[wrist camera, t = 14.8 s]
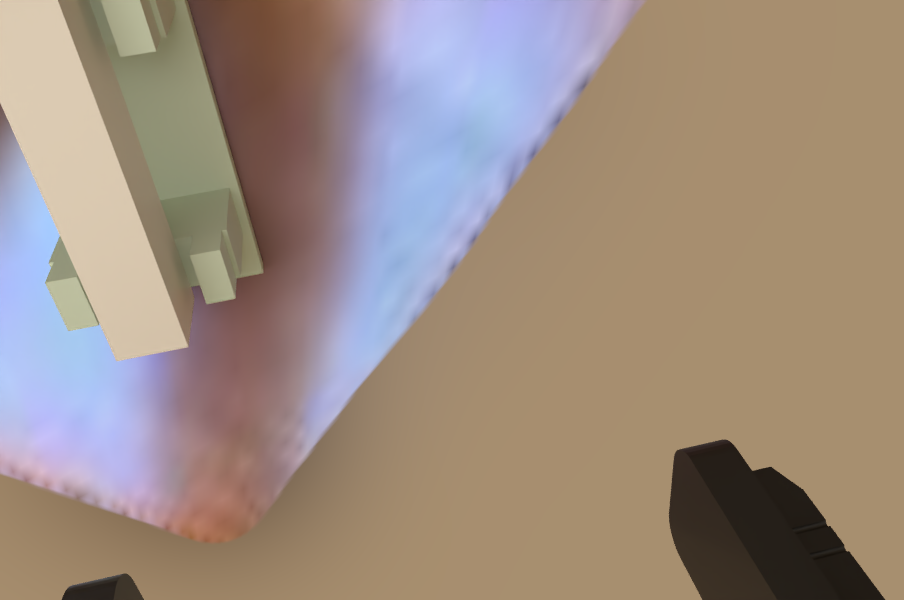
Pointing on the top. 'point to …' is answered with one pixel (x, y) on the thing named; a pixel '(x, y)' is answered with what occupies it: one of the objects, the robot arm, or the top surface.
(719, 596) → the robot arm
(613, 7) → the top surface
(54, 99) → the clay strip
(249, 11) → the top surface
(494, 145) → the top surface
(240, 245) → the sage green peg rail
